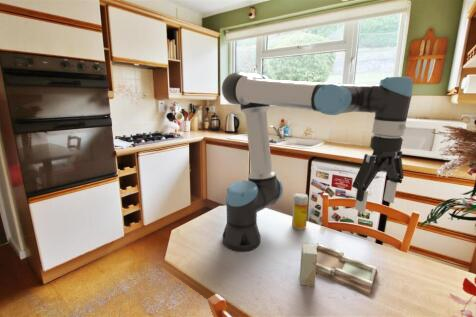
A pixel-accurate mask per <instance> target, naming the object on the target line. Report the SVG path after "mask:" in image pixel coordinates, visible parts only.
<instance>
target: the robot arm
mask: <svg viewBox="0 0 476 317" xmlns="http://www.w3.org/2000/svg"><path fill="white" fill-rule="evenodd" d="M413 85H414V80H413V79H412V77H409V76H386V77H385V76H384V77H382V78H381V79H380V81H379V84H374V85H373V84H372V85H371V84H370V85H367V84H343V83H339V82H337V83H336V82H330V83H329V82H314V81H298V80H297V81H294V80H277V79H276V80H275V79H270V78H269V77H267V76H266V75H263V74H261V73H258V72H257V73H251V72H249V73H248V72H247V73H246V72H233V73H229V75H227V76H225V78H224V79H223V81H222V85H221V91H222V92H221V93H222V96H223V98H224V99H225V100H226V101H227V102H228V103H229V104H232V105H236V106H237V105H238V106H240V112H242V113H243V114H244V115H245V116H244V117H245V125H246V134H247V142H248V143H247V144H248V152H249V163H250V171H251V172H250V173H249V174H248V180H242V181H241V180H240V181H239V180H238V181H235V182H233V183H231V184H230V185H229V186H227V187H228V188H227V189H226V196H225V203H226V225H225V227H224V230H223V232H222V237H221V238H222V244H223V246H224V247H225V248H226V249H228V250H230V251H234V252H235V253H245V252H251V251H254V250H255V249H258V247H259V246H260V245H261V242H262V241H261V237H262V236H261V233H260V231H259V226H258V223H257V217H258V215H257V214H258V212H260V211H263V210H264V209H266V208H268V207H270V206H273V205H274V204H276V203H277V202H278V201H279V200H280V199H281V198H282V196H283V193H284V186H283V183H282V182H281V180H280V178H278V177H277V173H276V172H275V171H274V170H273V168H272V158H271V147H270V137H269V126H268V114H267V113H268V112H267V111H268V110H269V109H270V107H271V106H275V107H283V108H289V109H298V110H305V111H312V112H318V113H320V114H321V113H322V114H324V115H326V116H327V115H329V116H337V115H340V114H346V113H347V114H348V113H355V112H356V113H370V114H371V113H372V114H373V113H374V119H373V124H372V125H373V126H372V130H371V133H372V134H373V135H371V138H370V144H369V148H370V149H372V154H368V153H365V154H364V156H363V161H362V163H361V165H360V167H359V170H358V171H357V174H356V176H355V178H354V180H353V182H352V184H351V187H352V188H353V189H356V196H355V205H354V210H357V211H358V212H361V213H364V214H365V212H366V208H367V207H366V206H367V201H368V195H369V190H368V188H369V186H370V185H371V184H372V182H373V180H374V179H375V178H376V176H377V174H378V173H380V172H381V171H382V170H384V169H385V172H386V175H387V178H388V179H387V180H386V184H385V190H384V194H383V201H385V202H388V203H390V204H394V203H395V197H396V193H397V187H398V183H399V184H401V183H403V179H404V171H403V170H404V168H403V161H402V160H403V159H402V156H403V151H402V150H401V149H402V145H403V140H404V138H402V137H403V136H404V135H405V134H404V133H405V130H406V129H407V125H406V123H407V118H408V113H409V109H410V105H411V101H412V97H413V95H412V94H413V93H412V92H413Z"/></svg>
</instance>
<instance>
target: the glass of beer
mask: <svg viewBox="0 0 476 317" xmlns="http://www.w3.org/2000/svg"><path fill="white" fill-rule="evenodd" d="M292 204H293V205H292V216H291V217H292V220H291V225H292V227H293V228H294V229H296V230H304V229H305V228H307V221H308V220H307V219H308V208H309V196H308V194H307V193H305V192H296V193H294V195H293V203H292Z"/></svg>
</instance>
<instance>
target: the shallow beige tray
mask: <svg viewBox="0 0 476 317" xmlns="http://www.w3.org/2000/svg"><path fill="white" fill-rule="evenodd" d="M315 246H316V249H317V265H316V274H320V276H324V277H326V278H329V279H331V280H333V281H335V282H337V283H340V284H342V285H345V286H347V287H350V288H351V289H354V290H356V291H359V292H361V293H364V294H366V295H368V296H370V295H371V292H372V287H373V285H374V284H373V283H374V281H375V277H376V274H377V270H378V267H377V266H374V265H371V264H368V263H367V262H363V261H360V260H357V259H354V258H351V257H349V256H346V255H345V253H344V252H342V251H341V250H336V249H335V248H332V247H329V246H326V245H323V244H321V243H316V245H315Z"/></svg>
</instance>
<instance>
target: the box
mask: <svg viewBox="0 0 476 317" xmlns="http://www.w3.org/2000/svg"><path fill="white" fill-rule="evenodd" d="M300 251H301V254H300V265H299V266H300V267H299V268H300V270H299V280H300V281H299V282H300V285H303V286H309V287H315V286H316V274H317V273H316V265H317V249H316V245H313V244H305V243H303V244H301V250H300Z"/></svg>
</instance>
